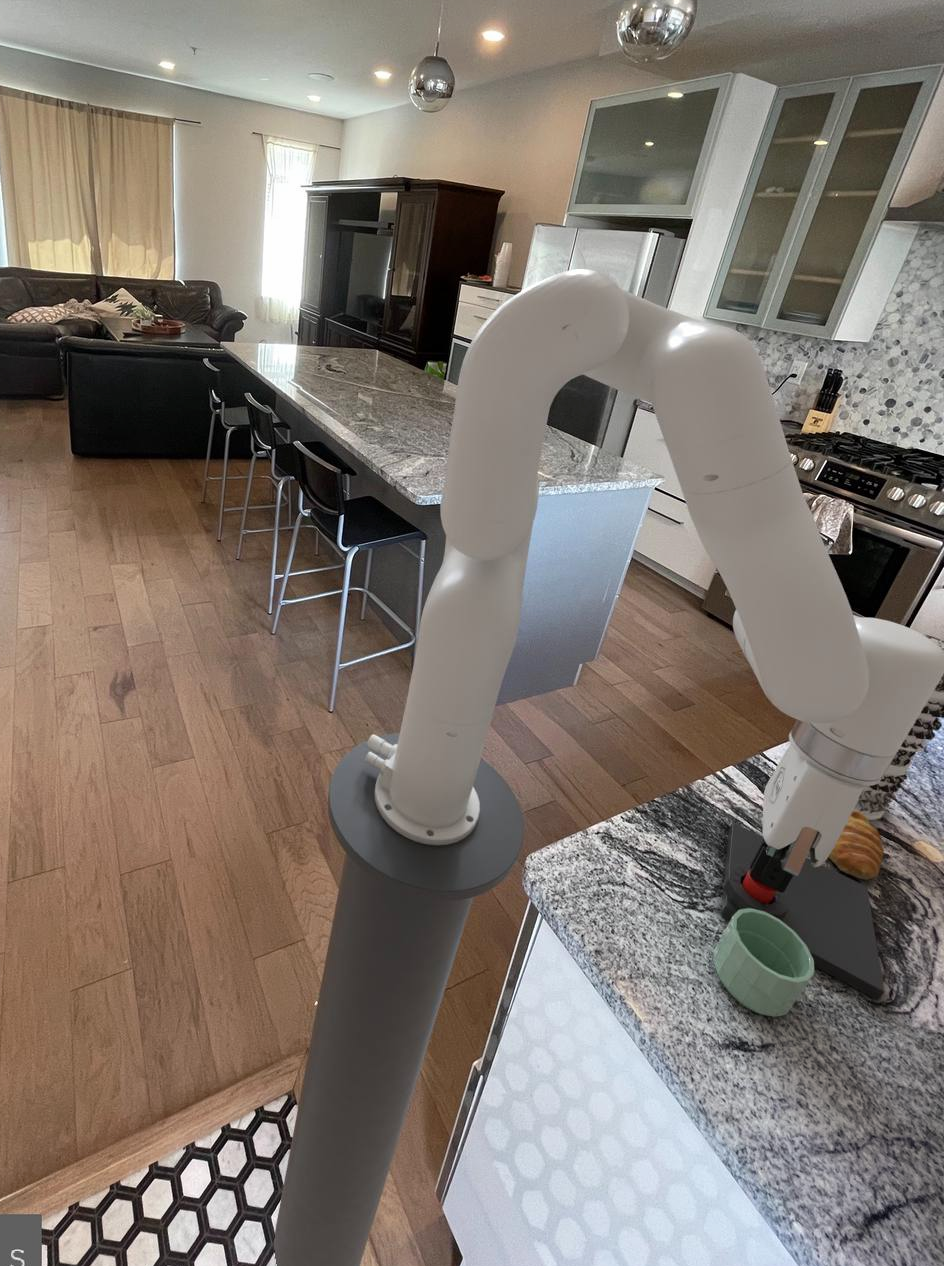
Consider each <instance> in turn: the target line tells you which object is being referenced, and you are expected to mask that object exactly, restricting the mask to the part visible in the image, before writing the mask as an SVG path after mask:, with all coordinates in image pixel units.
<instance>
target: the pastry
mask: <svg viewBox="0 0 944 1266" xmlns="http://www.w3.org/2000/svg"><path fill="white" fill-rule="evenodd" d="M883 857H884V848H883V844H882V837H881V835H880V833H879V831H878V829H877V828H876V827H874V826H872V824H871V823H870V821H869V819H868V818H867V817H866V816H865V815H863V814H862V813H860V812H859V811H857V810H855V809H854V810H853V812H852V814H851V816H850V818H849V820H848V822H847V824H846V826H845V828H844V830H843V832H842V834H841V836H840V838H839V839H838V841H837V843H836V845H835V847H834V848H833V850H832V852H831V853H830V855H829V856H828V858H829V859H830V860H831V862H833V863H834V864H835V866H836V867H837V868H838V869H839V870H840V871H841V872H844V873H846V874H847V875H849V876H850V875H851V876H853V877H855V878H857V879H861V880H865V881H868V880H870V879H873V878H877V877H878V876H879V872H880V870H881V868H882V866H883V864H882V862H883Z"/></svg>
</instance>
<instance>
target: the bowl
mask: <svg viewBox="0 0 944 1266" xmlns="http://www.w3.org/2000/svg"><path fill="white" fill-rule="evenodd" d="M712 959H713V960H712V961H713V964H714V967H715V969H716V973H717V976H718V978H719V980H720V982H721V983H722V985H723V987H725V989H726V990H727V991H728V992H729V994H730V995H731V996H732V997H733V998H734V999H735V1000H736V1001H738V1002H739V1003H740V1004H741V1005H742V1006H744V1007H745V1008H747V1009H748V1010H751V1011H752V1012H754V1013H757V1014H759V1015H763V1016H768V1017H772V1018H773V1017H775V1018H776V1017H780V1016H785V1015H786V1016H787V1015H788V1013H789V1012H790V1010H792V1008H793V1006H794V1005H795V1004H796V1002H797V1000H798V999H799V997H800V996H801V994H802V993H803V991H804V990H805V988H806V987H807V985H808V983H809V982H810V980H811V979H812V977H813V976H814V974H815V966H814V960H813V958H812V955H811V953H810V951H809V949H808V947H807V946H806V944H805V943H804V942H803V941H802V940H801V938H800V937H799V936H798V935H797V934H796V932H795V931H793V930H792V929H791V928H790V927H788V926H787V925H786V924H785V923H783V922H782V921H781V920H780V919H778V918H776V917H774V916H772V915H770V914H768V913H766V912H764V911H760V910H756V909H752V908H747V909H740V910H738V911H737V912H736V913H735V914H734V915H733V917H732V918H731V920H729V922H728V924H727V926H726V928H725V929H724V931H723V932H722V934H721V936H720V939H719V940H718V942H717V944H716V945H715V948H714V950H713V958H712Z"/></svg>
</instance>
